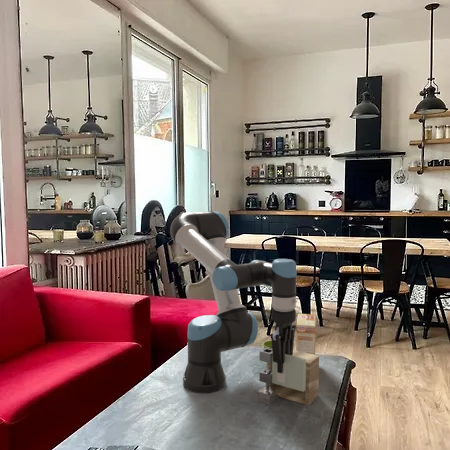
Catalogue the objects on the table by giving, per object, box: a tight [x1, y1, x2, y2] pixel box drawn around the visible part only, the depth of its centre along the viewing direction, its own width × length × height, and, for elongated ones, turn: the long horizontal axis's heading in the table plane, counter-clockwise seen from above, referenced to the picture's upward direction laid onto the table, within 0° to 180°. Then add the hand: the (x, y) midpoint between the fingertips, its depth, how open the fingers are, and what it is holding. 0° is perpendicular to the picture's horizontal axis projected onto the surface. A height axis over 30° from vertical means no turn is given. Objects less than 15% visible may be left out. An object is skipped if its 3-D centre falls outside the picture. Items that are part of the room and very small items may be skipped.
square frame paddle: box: [258, 347, 306, 392], centre depth 145 cm, size 15×4×10 cm, turn 55°
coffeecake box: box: [295, 313, 317, 355], centre depth 172 cm, size 15×7×20 cm, turn 168°
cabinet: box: [257, 349, 320, 406], centre depth 149 cm, size 15×14×14 cm
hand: (282, 380), depth 145 cm, fingers closed on square frame paddle, 2 cm apart
